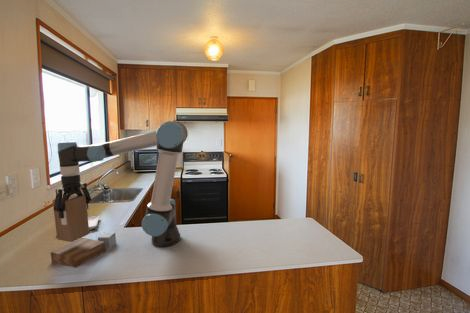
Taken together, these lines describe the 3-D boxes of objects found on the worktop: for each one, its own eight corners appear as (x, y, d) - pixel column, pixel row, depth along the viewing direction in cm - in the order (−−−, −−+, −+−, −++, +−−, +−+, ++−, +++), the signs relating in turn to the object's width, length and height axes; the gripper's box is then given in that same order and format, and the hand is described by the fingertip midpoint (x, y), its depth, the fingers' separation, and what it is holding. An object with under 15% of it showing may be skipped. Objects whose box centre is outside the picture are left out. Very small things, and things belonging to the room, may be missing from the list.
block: (71, 243, 117) (66, 200, 114) (56, 240, 120) (51, 199, 118) (90, 234, 126) (86, 195, 124) (75, 231, 130) (71, 193, 127)
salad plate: (64, 225, 166) (63, 220, 166) (100, 219, 174) (100, 214, 174) (56, 237, 147) (55, 232, 146) (97, 230, 155) (96, 225, 155)
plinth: (105, 251, 128) (104, 241, 128) (76, 267, 113) (74, 257, 113) (82, 246, 134) (81, 237, 133) (51, 262, 119) (50, 252, 118)
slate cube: (116, 243, 137) (115, 232, 136) (109, 248, 131) (108, 237, 130) (105, 243, 137) (104, 232, 137) (98, 248, 132) (97, 237, 131)
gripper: (86, 170, 130) (90, 211, 133) (39, 179, 109) (45, 228, 112) (97, 170, 128) (101, 213, 130) (51, 180, 107) (57, 230, 109)
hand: (75, 220), depth 121 cm, fingers closed on block, 10 cm apart
